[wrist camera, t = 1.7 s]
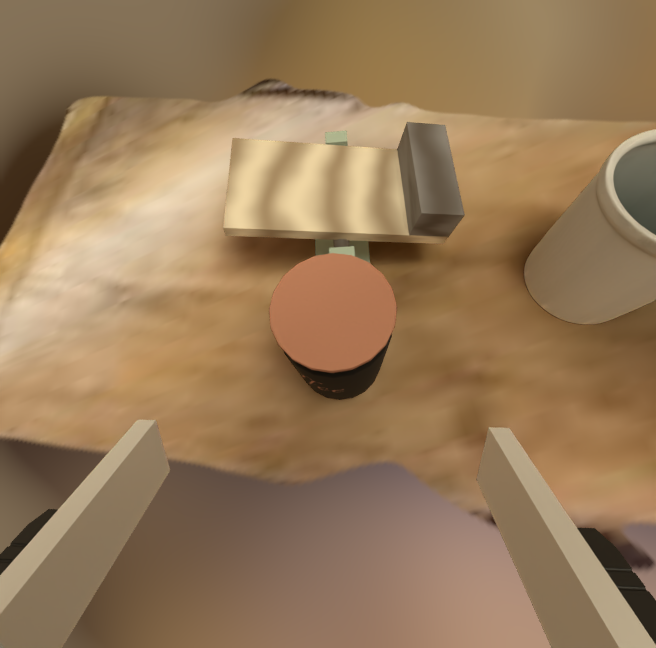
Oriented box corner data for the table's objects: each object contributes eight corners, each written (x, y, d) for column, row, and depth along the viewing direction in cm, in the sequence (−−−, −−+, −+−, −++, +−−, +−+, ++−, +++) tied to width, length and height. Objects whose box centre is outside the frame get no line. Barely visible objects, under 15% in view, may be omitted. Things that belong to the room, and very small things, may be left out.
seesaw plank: (422, 165, 48) (443, 119, 41) (438, 258, 42) (466, 222, 36) (237, 153, 45) (227, 102, 38) (227, 251, 39) (214, 211, 33)
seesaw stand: (362, 178, 54) (364, 126, 45) (372, 297, 46) (376, 263, 37) (315, 182, 54) (307, 131, 45) (316, 300, 47) (308, 267, 38)
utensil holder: (540, 338, 42) (658, 272, 26) (502, 244, 48) (580, 140, 31) (652, 320, 42) (842, 242, 26) (602, 228, 47) (733, 114, 31)
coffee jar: (286, 352, 44) (245, 296, 27) (348, 309, 46) (345, 231, 29) (330, 417, 41) (315, 399, 24) (396, 368, 42) (425, 319, 26)
